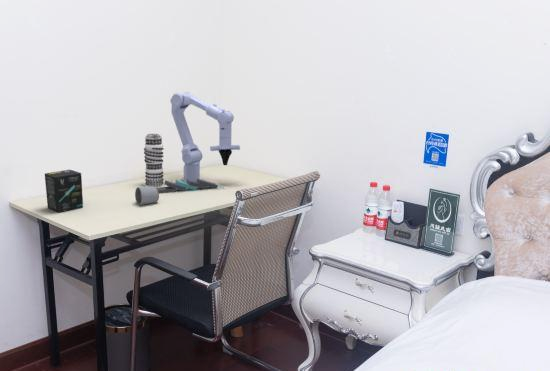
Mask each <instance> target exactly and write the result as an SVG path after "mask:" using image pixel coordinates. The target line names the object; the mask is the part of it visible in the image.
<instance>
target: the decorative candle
mask: <svg viewBox="0 0 550 371" xmlns="http://www.w3.org/2000/svg"><path fill="white" fill-rule="evenodd" d="M144 139H145V141H144V142H145V144H144V148H143V154H144V163H145V172H144V174H145V175H144V176H145V178H144V181H145V183H144V184H145V187H150V186H152V187H156V188H160V187H164V182H165V180H164V179H165V178H164V170H163V169H164V168H163V164H164V159H162V158H164V152H163V150H164V149H165V148H164V145H163V141H162V139H163V137H162V136H161V135H160V134H159V133H147V134H146V136H145V137H144Z"/></svg>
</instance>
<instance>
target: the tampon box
mask: <svg viewBox="0 0 550 371" xmlns="http://www.w3.org/2000/svg"><path fill="white" fill-rule="evenodd" d="M44 180H45V181H44V182H45V183H44V184H45V193H46V203H47V209H49V210H52V211H53V212H57V214H58V213H60V214H61V213H64V212H69V211H73V210H77V209H81V208H82V209H83V208H84V201H83V198H84V197H83V184H82V183H83V180H82V173H81V172H79V171H76V170H72V169H64V170H58V171H52V172H45V173H44Z"/></svg>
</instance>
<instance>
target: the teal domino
mask: <svg viewBox="0 0 550 371" xmlns="http://www.w3.org/2000/svg"><path fill="white" fill-rule="evenodd" d="M174 183H176V184H177V185H178V186H182V187H185V188H189V189H193V190H196V189H197V187H195V186H191V185H189V184H187V183H186V182H185V181H183V180H178V179H176V180H175V182H174Z"/></svg>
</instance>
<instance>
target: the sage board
mask: <svg viewBox="0 0 550 371" xmlns="http://www.w3.org/2000/svg"><path fill="white" fill-rule="evenodd" d="M217 185H218V187H217V189H216V188H213V187H209V186H208V187H207V189H203V188H199V187H197V189H196V190H193V189H189V188H186V190H185V191H182V190H179V189H176V192H171V193H172V194H179V193H180V194H182V193H193V192H194V193H195V192H204V191H214V190H215V191H217V190H226V189H227V188H226V187H224V186H223V185H221V184H217Z"/></svg>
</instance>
